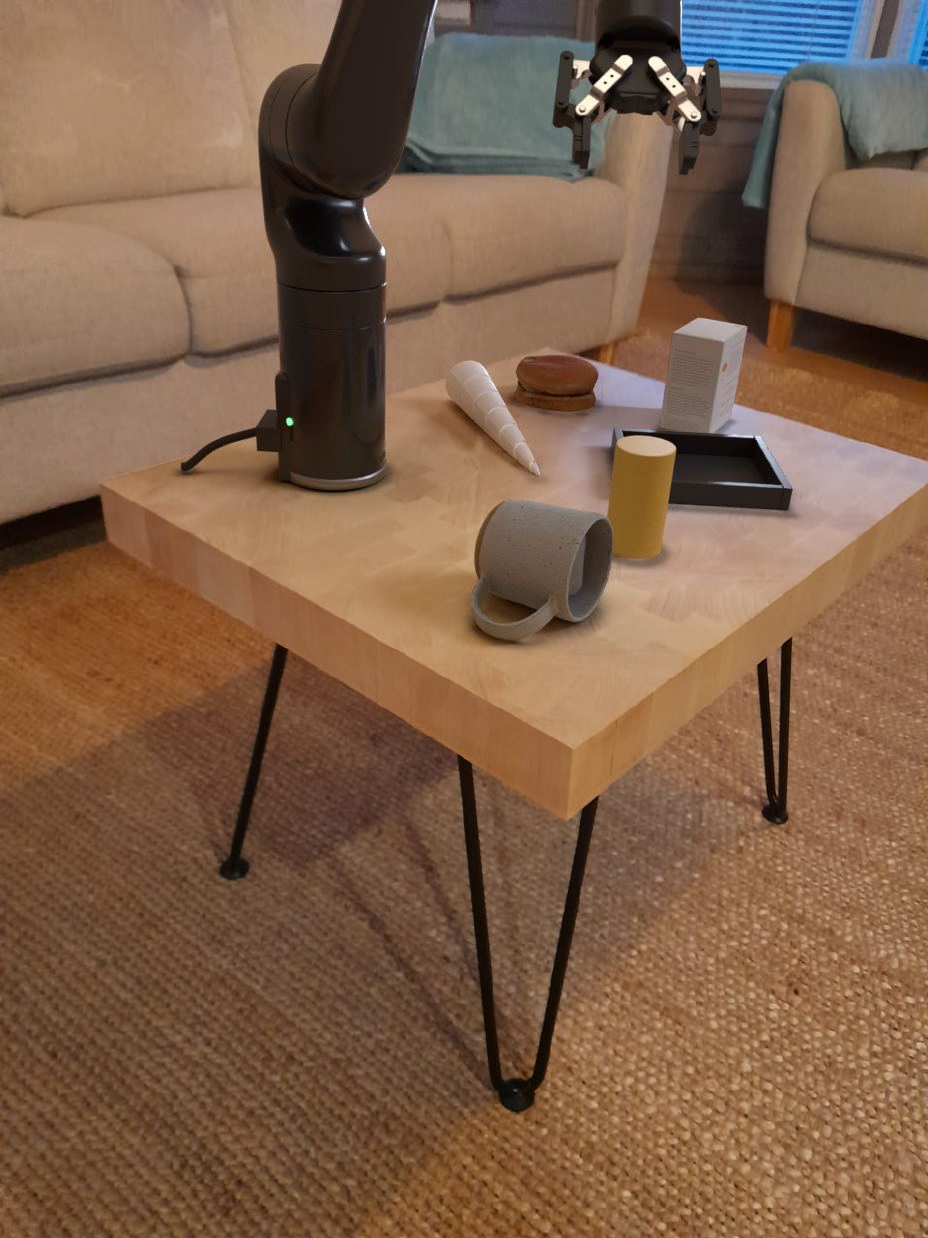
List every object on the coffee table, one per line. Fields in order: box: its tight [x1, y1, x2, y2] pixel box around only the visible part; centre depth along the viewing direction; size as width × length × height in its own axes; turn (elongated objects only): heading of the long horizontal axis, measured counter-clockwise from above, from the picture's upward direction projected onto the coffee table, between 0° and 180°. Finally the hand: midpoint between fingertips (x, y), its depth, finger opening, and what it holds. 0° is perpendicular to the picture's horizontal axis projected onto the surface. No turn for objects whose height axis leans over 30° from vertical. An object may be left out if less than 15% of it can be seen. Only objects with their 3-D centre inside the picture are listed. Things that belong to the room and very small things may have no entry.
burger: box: [513, 354, 599, 412], centre depth 117 cm, size 10×9×5 cm
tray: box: [610, 427, 794, 511], centre depth 98 cm, size 15×14×2 cm
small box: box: [659, 317, 748, 434], centre depth 110 cm, size 8×6×10 cm
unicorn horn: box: [445, 360, 541, 476], centre depth 105 cm, size 5×24×5 cm, turn 13°
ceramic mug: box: [470, 499, 614, 641], centre depth 73 cm, size 11×8×8 cm
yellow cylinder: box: [606, 436, 676, 560], centre depth 82 cm, size 5×5×9 cm
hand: (635, 165), depth 88 cm, fingers open, 8 cm apart
